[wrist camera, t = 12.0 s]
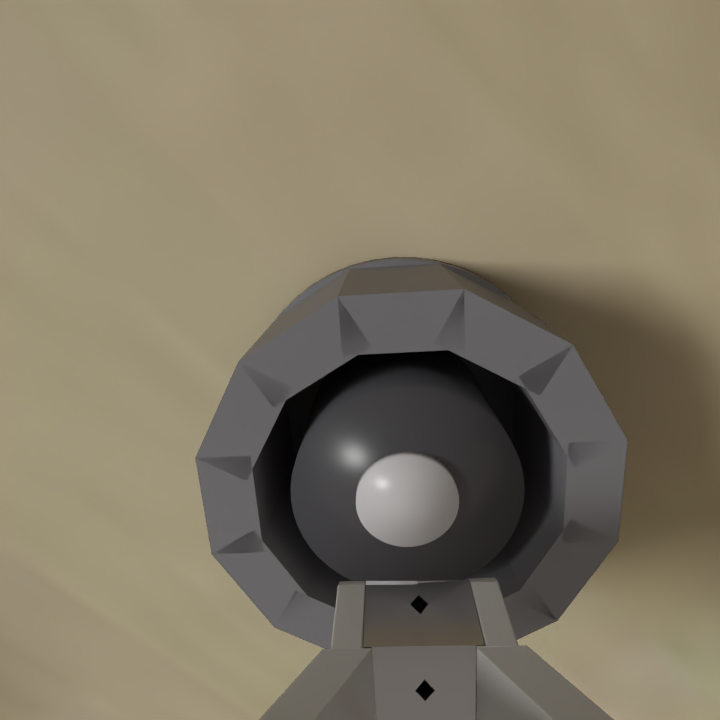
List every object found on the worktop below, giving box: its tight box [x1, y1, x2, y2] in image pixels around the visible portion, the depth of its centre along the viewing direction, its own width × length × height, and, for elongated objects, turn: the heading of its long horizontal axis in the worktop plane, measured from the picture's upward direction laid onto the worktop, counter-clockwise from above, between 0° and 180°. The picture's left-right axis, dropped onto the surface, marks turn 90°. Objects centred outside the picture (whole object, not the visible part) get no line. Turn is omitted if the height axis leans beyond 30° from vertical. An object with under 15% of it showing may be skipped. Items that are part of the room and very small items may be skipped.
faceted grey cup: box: [195, 257, 628, 649], centre depth 16 cm, size 11×11×6 cm
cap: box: [291, 350, 525, 582], centre depth 16 cm, size 6×6×5 cm
